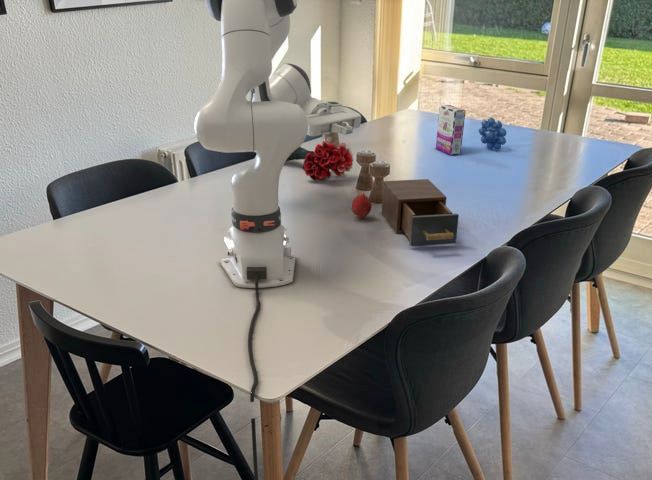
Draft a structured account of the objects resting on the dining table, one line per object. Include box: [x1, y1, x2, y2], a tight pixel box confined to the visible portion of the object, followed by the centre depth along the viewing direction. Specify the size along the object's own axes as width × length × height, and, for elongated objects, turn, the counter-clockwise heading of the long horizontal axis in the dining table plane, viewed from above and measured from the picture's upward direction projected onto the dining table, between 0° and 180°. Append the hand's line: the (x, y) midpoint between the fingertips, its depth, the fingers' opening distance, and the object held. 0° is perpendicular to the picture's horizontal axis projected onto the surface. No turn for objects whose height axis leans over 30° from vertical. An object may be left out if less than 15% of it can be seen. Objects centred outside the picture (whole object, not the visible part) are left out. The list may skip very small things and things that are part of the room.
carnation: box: [286, 142, 354, 182], centre depth 241 cm, size 16×18×35 cm
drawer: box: [400, 200, 460, 247], centre depth 189 cm, size 21×13×8 cm, turn 11°
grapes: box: [478, 116, 507, 151], centre depth 270 cm, size 12×7×12 cm, turn 55°
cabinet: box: [381, 178, 447, 234], centre depth 202 cm, size 17×14×10 cm
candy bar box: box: [435, 104, 466, 156], centre depth 266 cm, size 11×5×16 cm, turn 25°
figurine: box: [320, 132, 340, 147], centre depth 272 cm, size 7×7×12 cm
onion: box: [351, 191, 373, 220], centre depth 204 cm, size 6×6×8 cm
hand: (349, 131), depth 198 cm, fingers closed
